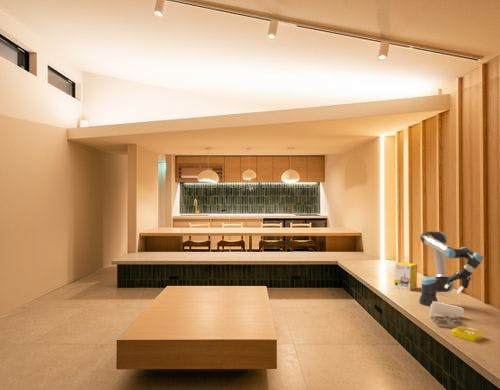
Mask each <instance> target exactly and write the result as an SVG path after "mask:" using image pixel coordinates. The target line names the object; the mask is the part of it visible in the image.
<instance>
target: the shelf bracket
mask: <svg viewBox="0 0 500 390" xmlns="http://www.w3.org/2000/svg"><path fill="white" fill-rule="evenodd" d="M429 308H430V311H429V315H428V317H430V318H431V316H432V317H434V316H435V314H436V315H438V316H443V317H446V318H449V317H454V318H457V317H461V318H462V317H464V313H465V308H463V307H460V306H456V305H451V304H448V303H443V302H439V301H438V302H435V301H432V304H431V306H429Z"/></svg>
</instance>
